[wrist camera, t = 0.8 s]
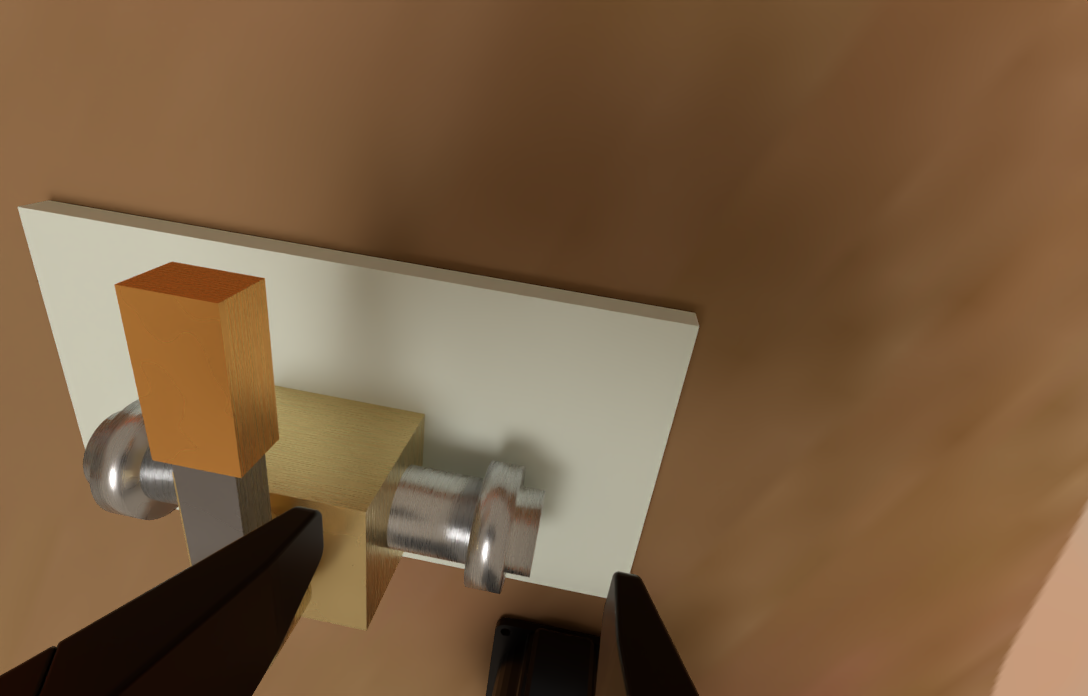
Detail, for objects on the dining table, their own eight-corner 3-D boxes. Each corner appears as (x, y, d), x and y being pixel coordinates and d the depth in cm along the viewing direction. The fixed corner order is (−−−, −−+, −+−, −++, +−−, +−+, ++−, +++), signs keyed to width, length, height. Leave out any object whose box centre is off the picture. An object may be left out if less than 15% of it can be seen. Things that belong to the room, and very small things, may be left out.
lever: (314, 628, 18) (278, 689, 16) (211, 605, 18) (165, 664, 16) (290, 282, 13) (234, 316, 11) (146, 256, 13) (68, 285, 11)
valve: (555, 438, 21) (530, 562, 16) (537, 541, 23) (510, 679, 18) (151, 361, 22) (-4, 453, 17) (172, 467, 24) (42, 577, 19)
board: (621, 579, 25) (621, 601, 24) (118, 476, 27) (97, 493, 26) (695, 312, 19) (699, 326, 18) (48, 200, 21) (17, 206, 20)
